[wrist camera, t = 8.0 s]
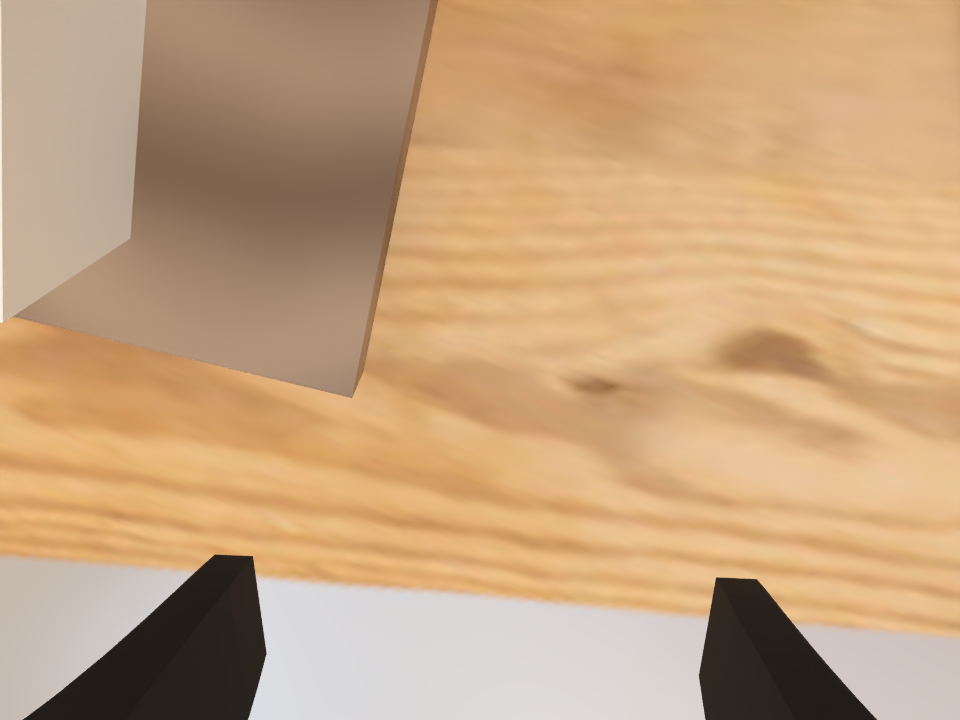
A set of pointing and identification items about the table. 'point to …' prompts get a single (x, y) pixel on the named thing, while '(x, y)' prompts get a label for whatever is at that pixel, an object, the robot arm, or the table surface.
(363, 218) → the shelf board
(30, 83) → the carton
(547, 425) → the table surface
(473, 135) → the table surface
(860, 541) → the table surface
